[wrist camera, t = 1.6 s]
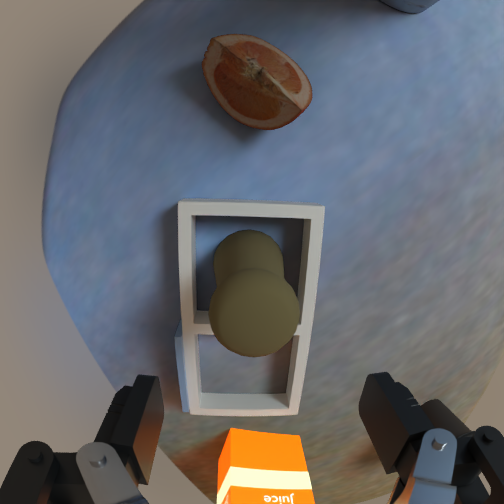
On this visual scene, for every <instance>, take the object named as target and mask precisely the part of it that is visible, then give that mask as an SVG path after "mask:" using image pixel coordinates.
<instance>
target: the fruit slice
mask: <svg viewBox="0 0 504 504" xmlns="http://www.w3.org/2000/svg"><path fill="white" fill-rule="evenodd" d="M207 50H208V51H205V54H204V56H205V58H204V59H203V61H202V69H203V74H204V76H205V79H206V82H207V85H208V86H209V88H210V90H211V92H212V94H213V96H214V97H215V99H216V100H217V101H218V103H219V104H220V106H221V107H222V108H223V109H224V110H225V111H226V112H227V113H228V114H229V115H230V116H232V117H233V118H234V119H235V120H237V121H238V122H240V123H242V124H244V125H246V126H249V127H252V128H257V129H262V130H274V129H278V128H281V127H283V126H285V125H287V124H289V123H291V122H292V121H294V120H295V119H296V118H297V117H298V116H299V115H300V114H301V113H303V112H304V110H305V109H306V108H307V107H308V106H309V104H310V103H311V100H312V87H311V84H310V82H309V80H308V78H307V76H306V75H305V73H304V72H303V70H302V69H301V68H300V67H299V66H298V64H297V63H296V62H294V61H293V60H292V59H291V58H290V57H289V56H287V55H286V54H285V53H284V52H282V51H281V50H279V49H278V48H276V47H275V46H273V45H271V44H270V43H268V42H266V41H264V40H262V39H260V38H257V37H254V36H251V35H243V34H227V35H221V36H217V37H214V38H212V39H211V40H210V44H209V46H208V48H207Z"/></svg>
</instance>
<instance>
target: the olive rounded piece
mask: <svg viewBox="0 0 504 504" xmlns="http://www.w3.org/2000/svg"><path fill="white" fill-rule="evenodd" d="M213 266H214V273H215V278H216V284H217V288H216V290H215V291H214V293H213V295H212V297H211V301H210V306H209V312H208V316H209V321H210V326H211V329H212V331H213V333H214V335H215V336H216V338H217V340H218V341H219V342H220V343H221V344H222V345H223V346H225V347H226V348H227V349H228V350H230V351H232V352H235V353H237V354H239V355H241V356H248V357H260V356H266V355H269V354H271V353H274V352H276V351H278V350H279V349H280V348H282V347H283V346H284V345H286V344H287V343H288V342H289V341H290V339H291V338H292V337H293V335H294V334H295V332H296V329H297V326H298V323H299V318H300V310H299V302H298V299H297V297H296V295H295V293H294V290H293V288H292V287H291V286H290V285H289V284H288V283H287V282H286V280H285V279H284V265H283V255H282V252H281V250H280V248H279V246H278V244H277V243H276V242H275V241H274V240H273V239H272V238H271V237H270V236H268V235H266V234H264V233H263V232H260V231H255V230H242V231H237V232H235V233H233V234H231V235H229V236H227V237H226V238H225V239H224V240H223V241H222V242H221V243H220V244H219V246H218V248H217V250H216V252H215V255H214V261H213Z"/></svg>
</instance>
